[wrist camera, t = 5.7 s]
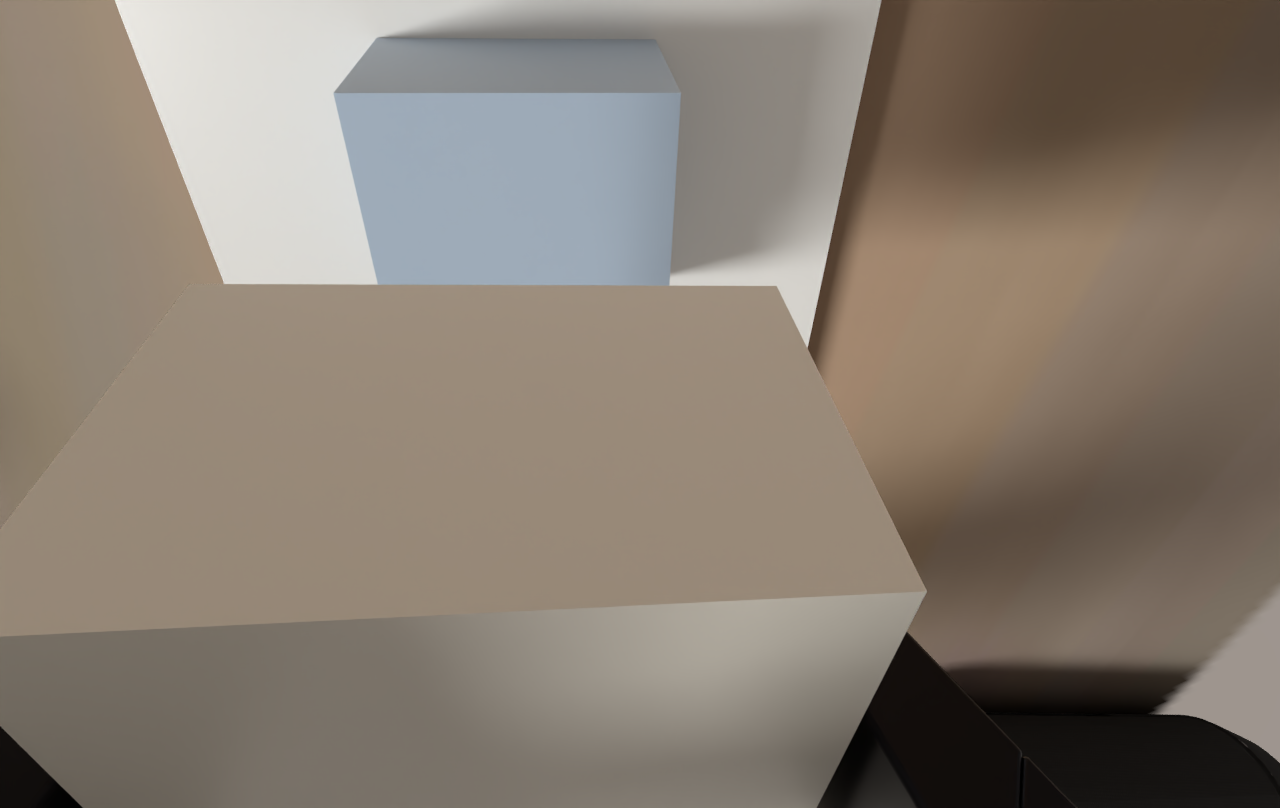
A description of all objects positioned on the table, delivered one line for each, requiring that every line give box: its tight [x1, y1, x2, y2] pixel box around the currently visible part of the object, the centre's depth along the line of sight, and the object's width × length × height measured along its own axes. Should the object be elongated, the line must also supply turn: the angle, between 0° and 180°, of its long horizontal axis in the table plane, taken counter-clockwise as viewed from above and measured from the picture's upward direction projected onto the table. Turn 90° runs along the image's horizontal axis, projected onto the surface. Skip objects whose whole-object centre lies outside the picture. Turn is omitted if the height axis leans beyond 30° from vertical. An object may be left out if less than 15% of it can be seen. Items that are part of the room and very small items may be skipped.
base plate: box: [115, 0, 881, 349], centre depth 18 cm, size 16×16×1 cm
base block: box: [333, 38, 681, 286], centre depth 16 cm, size 6×6×4 cm
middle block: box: [0, 284, 927, 808], centre depth 8 cm, size 6×6×4 cm
